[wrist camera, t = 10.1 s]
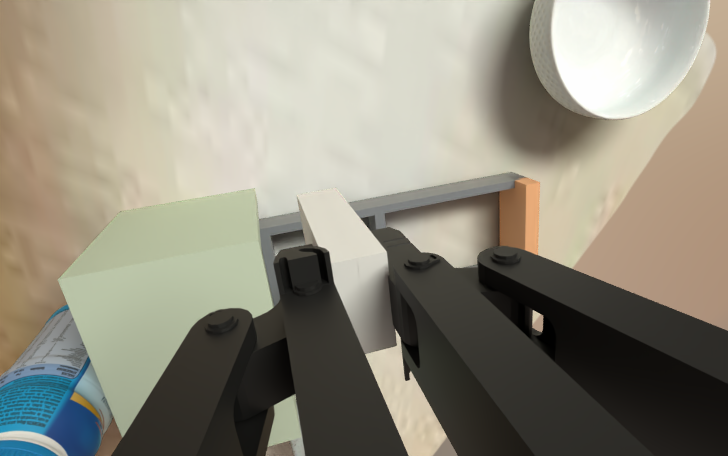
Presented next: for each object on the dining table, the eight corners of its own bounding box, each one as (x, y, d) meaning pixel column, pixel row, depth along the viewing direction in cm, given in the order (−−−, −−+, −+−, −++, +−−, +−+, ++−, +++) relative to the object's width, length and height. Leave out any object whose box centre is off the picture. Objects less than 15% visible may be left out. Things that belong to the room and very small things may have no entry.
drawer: (256, 219, 43) (258, 237, 38) (511, 172, 48) (539, 182, 43) (277, 316, 46) (281, 343, 42) (511, 262, 52) (537, 281, 47)
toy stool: (120, 211, 40) (57, 279, 26) (254, 188, 42) (258, 240, 29) (171, 365, 46) (140, 483, 33) (286, 337, 48) (301, 437, 35)
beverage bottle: (81, 277, 41) (-53, 444, 22) (161, 324, 44) (101, 502, 26) (25, 343, 41) (-150, 556, 23) (108, 384, 45) (13, 599, 26)
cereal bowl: (671, 38, 48) (737, 32, 41) (558, 146, 49) (606, 157, 42) (602, -109, 41) (669, -143, 35) (473, 19, 42) (515, 10, 36)
